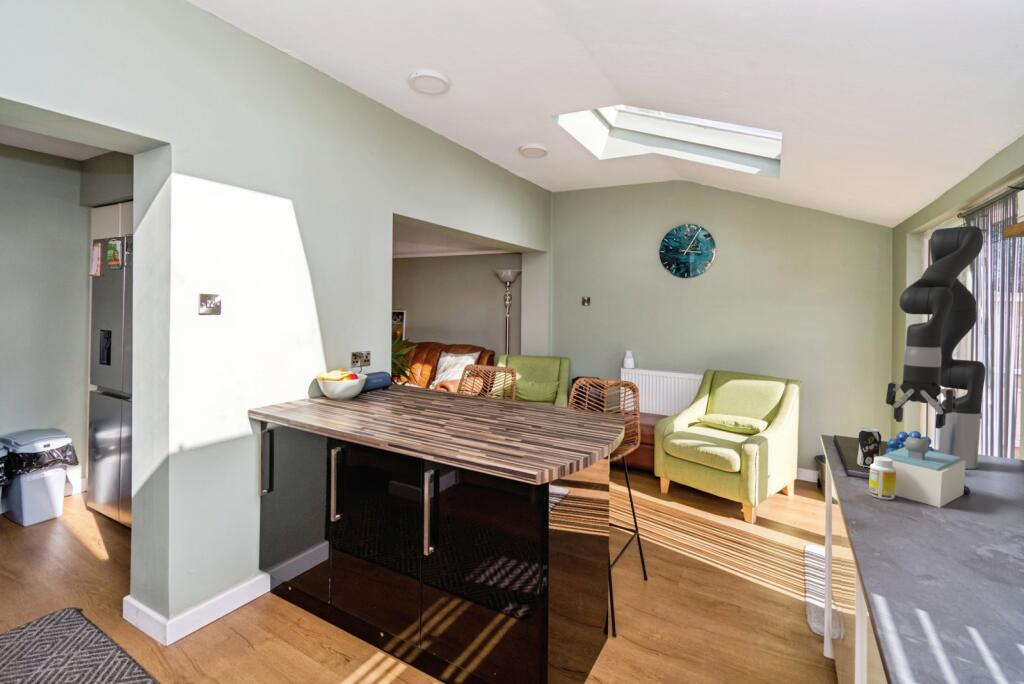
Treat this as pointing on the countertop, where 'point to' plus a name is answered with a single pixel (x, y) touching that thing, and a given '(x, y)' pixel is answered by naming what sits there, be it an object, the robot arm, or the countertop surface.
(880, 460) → the supplement bottle
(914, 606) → the countertop surface
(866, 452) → the beverage can
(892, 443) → the grapes
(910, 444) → the flap
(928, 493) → the carton
